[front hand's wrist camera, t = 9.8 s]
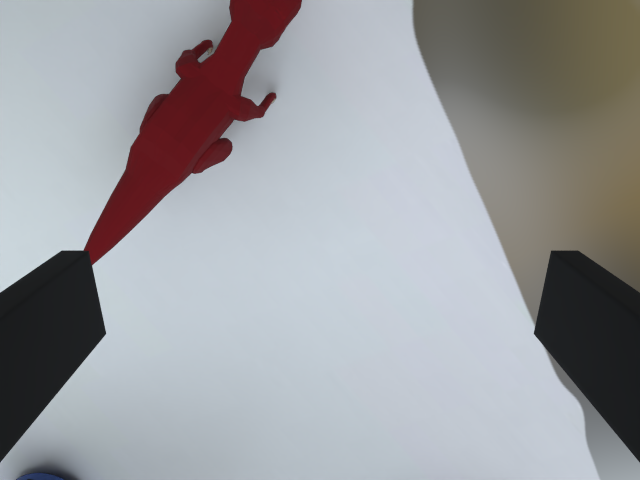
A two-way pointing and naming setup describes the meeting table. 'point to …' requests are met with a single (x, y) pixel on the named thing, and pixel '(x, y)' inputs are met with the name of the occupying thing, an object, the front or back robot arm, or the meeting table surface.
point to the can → (39, 477)
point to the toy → (192, 118)
